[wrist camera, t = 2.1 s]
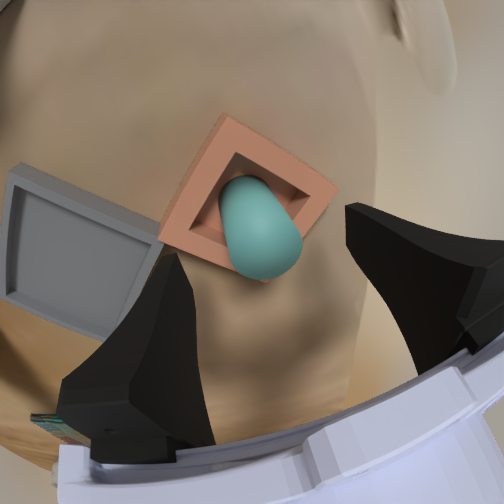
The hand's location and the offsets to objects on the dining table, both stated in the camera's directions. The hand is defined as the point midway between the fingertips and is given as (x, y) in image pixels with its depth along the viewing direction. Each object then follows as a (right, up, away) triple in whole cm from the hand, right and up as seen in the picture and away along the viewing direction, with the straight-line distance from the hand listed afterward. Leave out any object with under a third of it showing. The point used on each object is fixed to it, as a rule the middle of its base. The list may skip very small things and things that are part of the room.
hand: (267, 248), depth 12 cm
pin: (-1, +3, +4) cm, 5 cm away
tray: (-12, -1, +4) cm, 13 cm away
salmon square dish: (-1, +3, +4) cm, 5 cm away
